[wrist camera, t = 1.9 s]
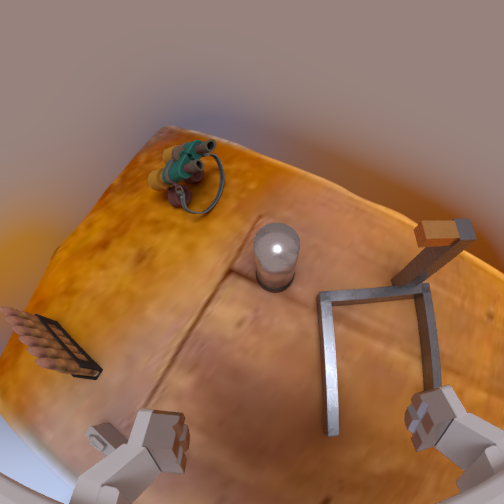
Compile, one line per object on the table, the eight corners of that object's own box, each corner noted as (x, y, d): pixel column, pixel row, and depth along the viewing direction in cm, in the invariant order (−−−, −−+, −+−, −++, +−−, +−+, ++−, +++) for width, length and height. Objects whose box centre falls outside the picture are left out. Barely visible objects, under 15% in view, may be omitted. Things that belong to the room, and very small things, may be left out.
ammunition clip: (50, 330, 35) (-7, 309, 24) (56, 320, 36) (-1, 296, 25) (96, 380, 32) (37, 374, 21) (103, 369, 33) (44, 360, 22)
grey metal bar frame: (418, 277, 36) (485, 218, 21) (432, 411, 29) (517, 416, 14) (315, 284, 36) (345, 219, 22) (323, 433, 29) (366, 471, 14)
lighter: (101, 430, 30) (66, 438, 22) (108, 422, 30) (73, 428, 23) (143, 468, 28) (114, 485, 20) (150, 459, 28) (122, 476, 21)
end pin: (292, 256, 38) (298, 220, 30) (295, 291, 36) (303, 264, 28) (255, 257, 38) (252, 222, 30) (256, 293, 36) (253, 267, 28)
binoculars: (211, 176, 46) (168, 133, 39) (256, 167, 40) (211, 115, 34) (185, 226, 43) (134, 185, 36) (231, 224, 37) (175, 172, 30)
